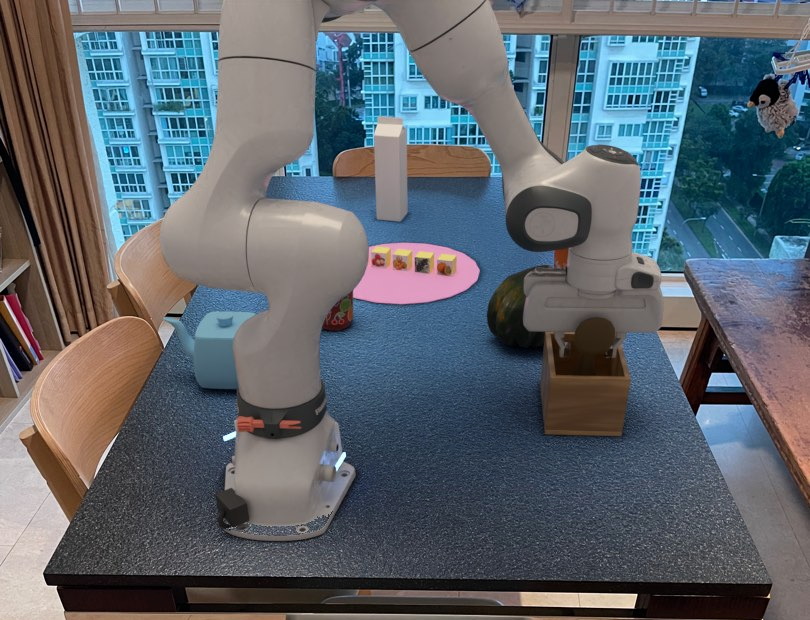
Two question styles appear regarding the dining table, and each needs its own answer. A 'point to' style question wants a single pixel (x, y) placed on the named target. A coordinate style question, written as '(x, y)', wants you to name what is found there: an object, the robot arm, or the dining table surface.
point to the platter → (415, 274)
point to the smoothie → (340, 314)
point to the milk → (390, 168)
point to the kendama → (592, 343)
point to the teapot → (213, 347)
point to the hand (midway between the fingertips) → (587, 356)
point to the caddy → (583, 392)
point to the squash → (512, 312)
